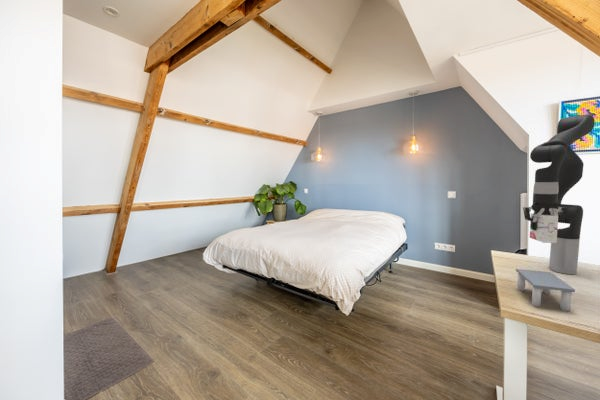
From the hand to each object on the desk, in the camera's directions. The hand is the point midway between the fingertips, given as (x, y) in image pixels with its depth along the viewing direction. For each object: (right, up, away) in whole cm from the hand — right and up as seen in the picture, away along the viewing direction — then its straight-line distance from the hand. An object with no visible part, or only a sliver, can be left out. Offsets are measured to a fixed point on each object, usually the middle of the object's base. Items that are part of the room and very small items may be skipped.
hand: (542, 230), depth 104 cm
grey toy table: (-11, -26, -10) cm, 30 cm away
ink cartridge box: (0, -5, +1) cm, 5 cm away
